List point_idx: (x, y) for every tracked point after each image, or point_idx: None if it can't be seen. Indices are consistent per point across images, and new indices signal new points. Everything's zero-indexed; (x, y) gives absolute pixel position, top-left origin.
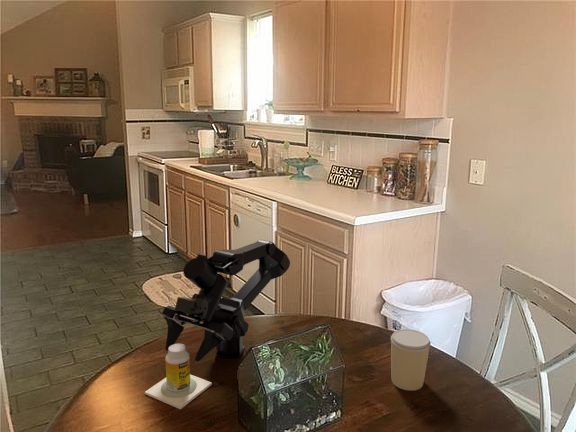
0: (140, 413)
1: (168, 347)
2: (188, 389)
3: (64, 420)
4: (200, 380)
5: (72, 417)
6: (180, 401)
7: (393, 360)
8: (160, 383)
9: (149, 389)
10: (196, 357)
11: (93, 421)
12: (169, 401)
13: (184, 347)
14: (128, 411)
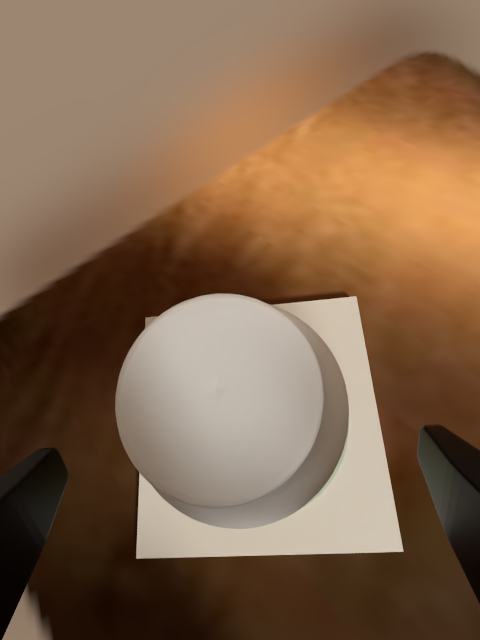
0: (261, 222)
1: (436, 459)
2: None
3: (436, 68)
4: (202, 537)
5: (432, 86)
6: None
7: None
8: (356, 382)
9: (354, 318)
10: (26, 464)
11: (355, 115)
12: None
13: (134, 445)
14: (307, 203)
